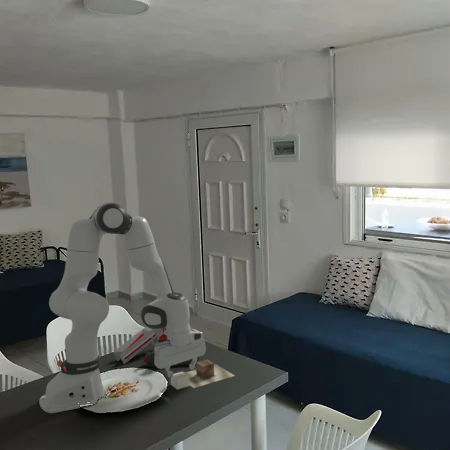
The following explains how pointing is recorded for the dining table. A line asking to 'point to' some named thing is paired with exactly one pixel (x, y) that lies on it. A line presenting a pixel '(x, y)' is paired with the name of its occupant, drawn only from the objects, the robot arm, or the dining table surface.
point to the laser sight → (150, 356)
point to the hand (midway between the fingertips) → (181, 372)
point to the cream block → (180, 380)
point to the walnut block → (205, 369)
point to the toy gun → (139, 343)
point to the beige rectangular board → (218, 375)
